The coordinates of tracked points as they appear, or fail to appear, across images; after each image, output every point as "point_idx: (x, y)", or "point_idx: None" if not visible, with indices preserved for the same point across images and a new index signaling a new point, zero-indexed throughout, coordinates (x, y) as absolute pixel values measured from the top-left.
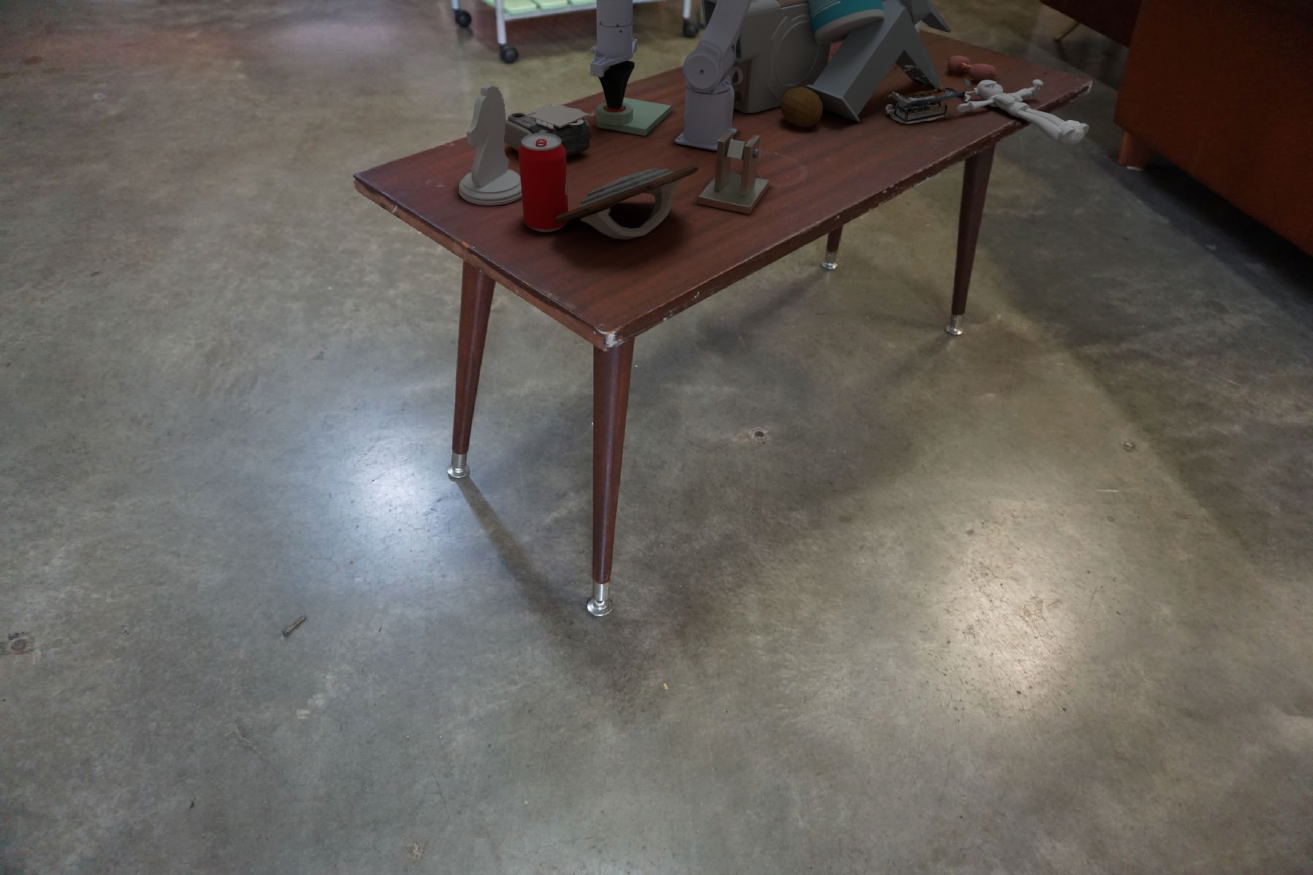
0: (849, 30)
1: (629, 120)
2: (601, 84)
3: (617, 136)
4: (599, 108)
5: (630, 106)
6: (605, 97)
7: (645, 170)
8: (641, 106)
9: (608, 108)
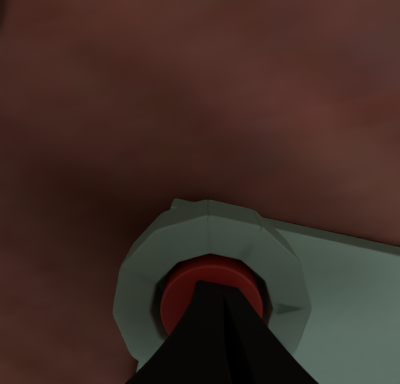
0: None
1: None
2: (153, 358)
3: (105, 293)
4: (184, 237)
5: None
6: (190, 305)
7: None
8: (378, 361)
9: (186, 286)
